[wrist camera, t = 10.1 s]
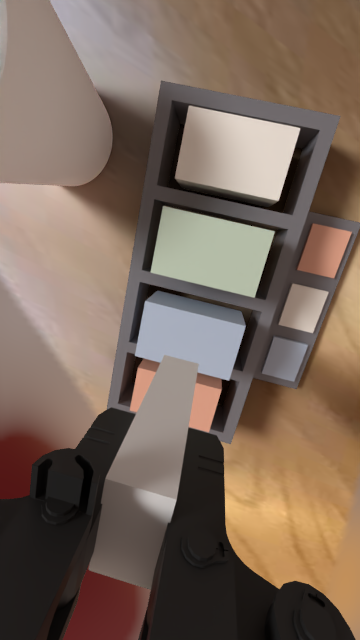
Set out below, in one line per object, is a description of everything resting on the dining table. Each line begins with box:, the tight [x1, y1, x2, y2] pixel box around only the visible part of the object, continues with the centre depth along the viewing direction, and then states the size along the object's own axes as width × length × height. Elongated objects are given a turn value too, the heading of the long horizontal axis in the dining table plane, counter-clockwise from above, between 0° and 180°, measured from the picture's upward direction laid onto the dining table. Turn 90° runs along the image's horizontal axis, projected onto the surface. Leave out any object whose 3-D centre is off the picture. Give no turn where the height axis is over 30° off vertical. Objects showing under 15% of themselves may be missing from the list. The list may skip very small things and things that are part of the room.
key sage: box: [151, 206, 275, 298], centre depth 17 cm, size 4×6×4 cm, turn 78°
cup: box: [0, 0, 113, 186], centre depth 15 cm, size 9×9×12 cm
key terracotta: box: [130, 358, 222, 432], centre depth 22 cm, size 4×6×4 cm, turn 77°
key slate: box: [135, 291, 246, 381], centre depth 19 cm, size 4×6×4 cm, turn 77°
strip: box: [253, 212, 360, 389], centre depth 21 cm, size 13×4×1 cm, turn 167°
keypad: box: [107, 81, 340, 444], centre depth 21 cm, size 22×10×4 cm, turn 167°
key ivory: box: [175, 106, 300, 207], centre depth 17 cm, size 4×6×4 cm, turn 77°
